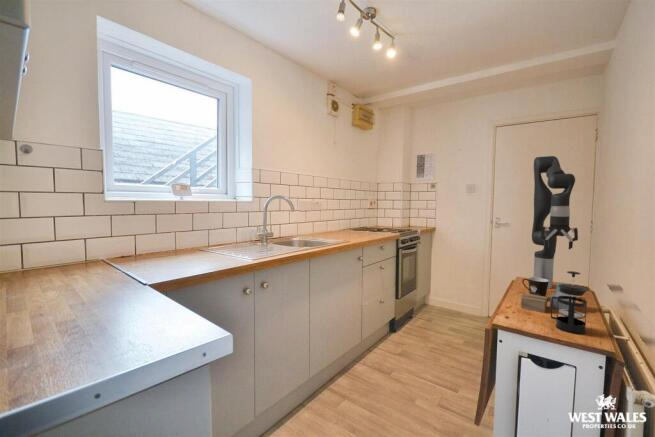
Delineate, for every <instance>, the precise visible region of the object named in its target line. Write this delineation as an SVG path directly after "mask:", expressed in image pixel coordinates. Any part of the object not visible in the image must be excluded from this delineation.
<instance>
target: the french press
mask: <svg viewBox="0 0 655 437" xmlns="http://www.w3.org/2000/svg"><path fill="white" fill-rule="evenodd" d="M566 273H567V274H570V275H571V278H572V283H569V284H560V285H558V286H559V287H560V292H562V293H565V294H569V295H571V296H572V297H571V296H558V297H554V296H552V301H551V308H550V319H551V320H555V321H556V322H555V327H556V328H557V329H558V330H560V331H562V332H565V333H569V334H573V335H585V334H586V333H587V330H586V326H587V312H588V311H587V307H588V301H587V300H585V299H583V298H580V297H582V296H584V295H585V293H586V292H588V290H589V289H588V288H587V287H584V286H581V285H577V284H574V282H575V277H576V275H581V273H580V272H577V271H571V270H570V271H569V270H568V271H566ZM570 284H571V285H570ZM573 296H575V297H573ZM553 298H555V299H558V302H560V303H563V304H566V305H569V310H566V309H561V310H560V309H558V302H557V309H556V316H553V308H552V307H553ZM561 299H569V302H568V301H564V300H561ZM575 301H576V303H575ZM578 302H579V303H578ZM575 306H576V307H577V308H578V307H579V308H583V307H585V310H584V311H585V312H584V313H582V312H579V311H576V308H575ZM574 310H575V311H574ZM559 314H560V315H559ZM582 319H584V321H583V320H582Z"/></svg>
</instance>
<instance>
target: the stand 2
mask: <svg viewBox="0 0 655 437" xmlns="http://www.w3.org/2000/svg"><path fill="white" fill-rule="evenodd" d="M552 296H554V297H556V292H552V293H551V295H550V298H549V299H550V300H549V308H550V309H551V301H552ZM571 297H572V295H571ZM573 297H576V296H574V295H573ZM561 300H564V301H568V302H569V300H567V299H561ZM557 302H558V299H555V298H553V307H552V309H554V310H555V309H556V310H557ZM575 303H577V301H575ZM561 309H566V310H569V305H566V304H563V303H560V302H558V310H561ZM574 311H576V306H575V310H574Z"/></svg>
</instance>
